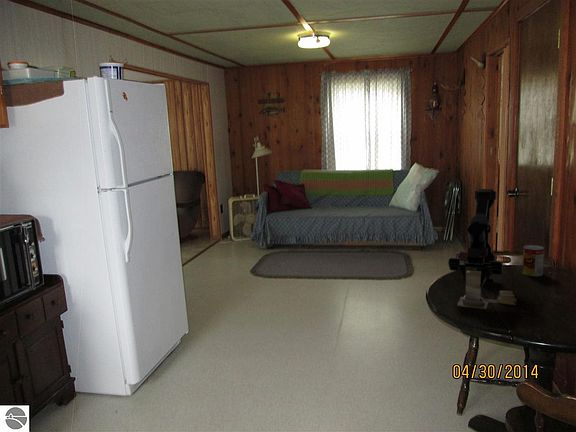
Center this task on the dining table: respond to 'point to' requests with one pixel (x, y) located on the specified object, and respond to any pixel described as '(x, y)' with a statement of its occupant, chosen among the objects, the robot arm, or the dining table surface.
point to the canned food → (533, 260)
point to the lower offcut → (505, 301)
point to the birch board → (473, 285)
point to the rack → (478, 302)
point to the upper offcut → (506, 295)
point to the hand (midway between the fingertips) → (472, 286)
